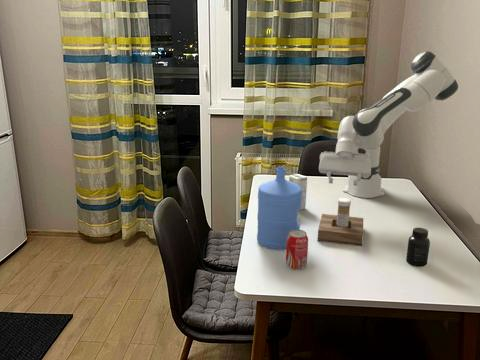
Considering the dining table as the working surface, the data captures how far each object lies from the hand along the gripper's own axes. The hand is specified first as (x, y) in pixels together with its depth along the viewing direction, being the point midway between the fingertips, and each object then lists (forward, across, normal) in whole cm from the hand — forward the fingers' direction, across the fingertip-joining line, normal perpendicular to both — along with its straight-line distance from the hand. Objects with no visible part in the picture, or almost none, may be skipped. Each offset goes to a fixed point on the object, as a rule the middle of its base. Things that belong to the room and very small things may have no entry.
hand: (342, 183), depth 188 cm
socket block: (+19, +1, +5) cm, 20 cm away
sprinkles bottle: (+19, +2, +4) cm, 19 cm away
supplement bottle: (+30, +27, -5) cm, 41 cm away
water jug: (+28, -21, -4) cm, 35 cm away
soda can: (+40, -11, -15) cm, 44 cm away
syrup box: (+3, -20, +21) cm, 29 cm away
